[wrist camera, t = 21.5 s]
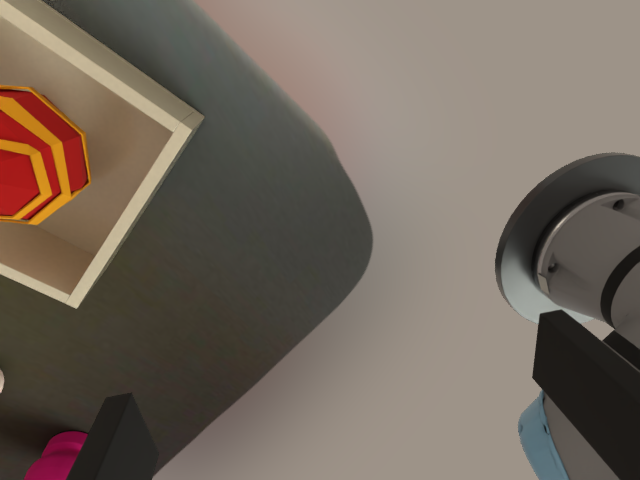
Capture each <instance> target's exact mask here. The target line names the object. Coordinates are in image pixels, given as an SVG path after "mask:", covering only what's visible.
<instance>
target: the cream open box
mask: <svg viewBox="0 0 640 480" xmlns="http://www.w3.org/2000/svg"><path fill="white" fill-rule="evenodd" d="M0 85H8V86H23V87H33V88H34V89H35V90H36V91H37V92H39V93H40V94H42V95H45V96H46V97H47V98H48V99H49V100H50V101H51V102H52V103H53V104H54V105H55V106H56V107H57V108H58V109H59V110H60V111H61V112H63V113H64V114H65V115H66V116H67V117H68V118H69V119H70V120H71V121H73V122H74V123H75V124H76V125H77V126H78V127H80V128H81V129H82V130H83V131H84V132H86V140H87V148H88V155H89V163H90V170H91V184H90V185H88V186H87V187H86V188H84V189H83V190H82V191H81V192H80V193H79V194H78V195H77V196H76V197H75V198H74V199H72V200H71V201H69V202H68V203H66V204H64V205H63V206H61V207H60V208H59V209H58V210H56V211H55V212H54V213H52V214H51V215H50V216H48V217H47V218H46V219H45V220H43V221H42V222H41V223H40V224H38V225H33V224H21V223H12V222H2V221H0V274H1V275H4V276H6V277H8V278H10V279H12V280H15V281H17V282H19V283H21V284H23V285H26V286H28V287H30V288H32V289H34V290H37V291H39V292H41V293H43V294H45V295H48V296H50V297H52V298H54V299H56V300H59V301H61V302H63V303H65V304H67V305H70V306H72V307H74V308H76V309H77V308H78V306H79V305H80V304H81V302H82V301H83V300H84V298H85V297H86V295H87V294H88V293H89V291H90V290H91V289H92V287H93V286H94V285H95V283H96V282H97V281H98V279H99V278H100V277H101V275H102V274H103V273H104V271H105V270H106V268H107V267H108V266H109V264H110V263H111V261H112V260H113V258H114V257H115V255H116V253H117V252H118V250H119V249H120V247H121V246H122V244H123V243H124V241H125V240H126V238H127V237H128V235H129V233H130V232H131V230H132V229H133V227H134V226H135V224H136V223H137V221H138V220H139V218H140V217H141V215H142V213H143V212H144V210H145V209H146V207H147V206H148V204H149V203H150V201H151V200H152V198H153V197H154V195H155V193H156V192H157V190H158V189H159V187H160V186H161V184H162V183H163V181H164V180H165V178H166V177H167V175H168V173H169V172H170V170H171V169H172V167H173V166H174V164H175V163H176V161H177V160H178V158H179V157H180V155H181V153H182V152H183V150H184V149H185V147H186V146H187V144H188V143H189V141H190V140H191V138H192V137H193V135H194V133H195V132H196V130H197V129H198V127H199V126H200V124H201V123H202V121H203V120H204V118H205V116H203V115H202V114H201V113H199V112H198V111H196V110H195V109H194V108H192V107H191V106H189V105H188V104H187V103H185V102H184V101H182V100H181V99H179V98H178V97H177V96H175V95H174V94H172V93H171V92H170V91H168V90H167V89H165V88H164V87H163V86H161V85H160V84H158V83H157V82H156V81H154V80H153V79H151V78H150V77H149V76H147V75H146V74H144V73H143V72H142V71H140V70H139V69H137V68H136V67H135V66H133V65H132V64H130V63H129V62H128V61H126V60H125V59H123V58H122V57H121V56H119V55H118V54H116V53H115V52H114V51H112V50H111V49H109V48H108V47H106V46H105V45H104V44H102V43H101V42H99V41H98V40H97V39H95V38H94V37H92V36H91V35H90V34H88V33H87V32H85V31H84V30H83V29H81V28H80V27H78V26H77V25H76V24H74V23H73V22H71V21H70V20H69V19H67V18H66V17H64V16H63V15H62V14H60V13H59V12H57V11H56V10H55V9H53V8H52V7H50V6H49V5H48V4H46V3H45V2H43V1H42V0H0ZM13 90H20V91H28V92H31V91H30V90H28V89H13ZM87 174H88V173H87ZM87 179H88V178H87ZM7 220H12V219H7ZM15 221H24V222H28V221H29V220H21V219H20V220H15Z"/></svg>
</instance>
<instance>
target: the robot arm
mask: <svg viewBox="0 0 640 480" xmlns="http://www.w3.org/2000/svg"><path fill="white" fill-rule="evenodd" d="M531 271H532V277H533V280H534V282H535V285H536V286H537V288H538V289H539V290H540V291H541V292H542V293H543V294H544V295H545V296H546V297H547V298H549V299H550V300H551V301H552V302H554V303H555V304H557V305H559V306H560V307H563V308H566V309H569V310H572V311H575V312H578V313H580V314H583V315H586V316H589V317H592V318H595V319H598V320H600V321H603V322H606V323H607V324H609V325H610V326H611V327H613V328H614V329H615V330H614V331H613V332H611V333H610V334H609V335H608V336H607V337H606V338H605V339H604V340H603V341H601V340H599V339H598V338H597V337H595V336H594V335H593V334H592V333H591V332H590V331H588V330H587V329H586V328H585V327H583V326H582V325H581V324H580V323H579V322H577V321H576V320H575V319H574V318H572V317H571V316H570V315H569V314H567V313H566V312H565V311H564V310H563V309H560V310H555V311H550V312H545V313H540V315H539V325H538V333H537V341H536V351H535V359H534V368H533V376H532V378H533V379H534V380H535V381H536V383H537V384H538V385H539V386H540V387H541V388H542V391H541V392H540V394H539V397H538V398H537V399H536V400H535V401H534V402H533V403H532V404H531V405H530V406H529V407H528V408H527V409H526V410H525V411H524V412H523V413H522V414H521V416H520V419H519V422H518V432H519V436H520V440H521V444H522V447H523V450H524V452H525V454H526V456H527V459H528V460H529V463H530V464H531V466H532V468H533V470H534V472H535V473H536V475H537V477H538V478H539V480H640V196H639V195H636V194H633V193H630V192H627V191H624V190H619V189H606V190H600V191H596V192H592V193H589V194H587V195H584V196H582V197H580V198H578V199H577V200H575V201H573V202H572V203H570V204H569V205H567V206H566V207H565V208H563V209H562V210H561V211H560V212H559V213H558V214H557V215H556V216H555V217H554V218H553V219H552V220H551V221H550V222H549V223H548V225H547V226H546V227H545V229H544V230H543V232H542V233H541V235H540V237H539V239H538V241H537V243H536V246H535V248H534V252H533V256H532V263H531ZM158 456H159V452H158V450H157V448H156V446H155V443H154V441H153V439H152V437H151V435H150V432H149V430H148V428H147V426H146V424H145V421H144V419H143V417H142V415H141V413H140V410H139V408H138V406H137V404H136V402H135V399H134V397H133V395H132V393H127V394H122V395H117V396H112V397H107V398H106V399H105V401H104V403H103V405H102V407H101V409H100V411H99V413H98V415H97V417H96V419H95V421H94V423H93V425H92V427H91V429H90V431H89V433H88V435H87V437H86V439H85V441H84V443H83V445H82V447H81V450H80V452H79V454H78V456H77V458H76V460H75V462H74V464H73V466H72V468H71V470H70V472H69V474H68V476H67V478H66V480H152V477H153V473H154V470H155V466H156V463H157V459H158Z"/></svg>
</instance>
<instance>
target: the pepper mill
mask: <svg viewBox="0 0 640 480" xmlns="http://www.w3.org/2000/svg"><path fill="white" fill-rule="evenodd" d="M87 435H88V434H86V433H83V432H78V431H67V432H63V433H59V434H58V435H56V436H54V437H53V438H52V439H50V441H49V442H48V444H47V446H46V448H45V449H44V451H43V453H42V458H40V459H39V460H37V461H36V462H35V463H33V464H32V466H31V467H30V468H29V469H28V471H27V473H26V475H25V478H24V480H66V478H67V476H68V474H69V472H70V470H71V468H72V466H73V464H74V462H75V460H76V458H77V456H78V454H79V452H80V450H81V447H82V445H83V443H84V441H85V439H86V437H87Z"/></svg>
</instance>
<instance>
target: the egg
mask: <svg viewBox="0 0 640 480" xmlns="http://www.w3.org/2000/svg"><path fill="white" fill-rule="evenodd" d="M3 385H4V375H3V372H2V371H1V369H0V393H1V391H2V388H3Z"/></svg>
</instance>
